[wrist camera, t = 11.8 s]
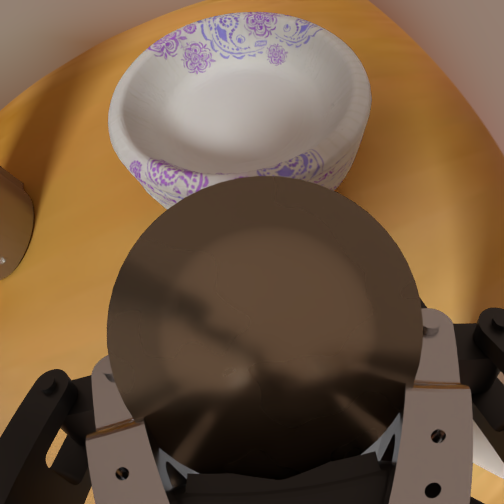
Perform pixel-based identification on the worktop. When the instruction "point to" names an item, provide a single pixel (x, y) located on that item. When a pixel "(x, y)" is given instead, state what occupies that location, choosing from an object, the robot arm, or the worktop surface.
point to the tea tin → (264, 328)
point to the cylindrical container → (486, 449)
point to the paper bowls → (240, 105)
